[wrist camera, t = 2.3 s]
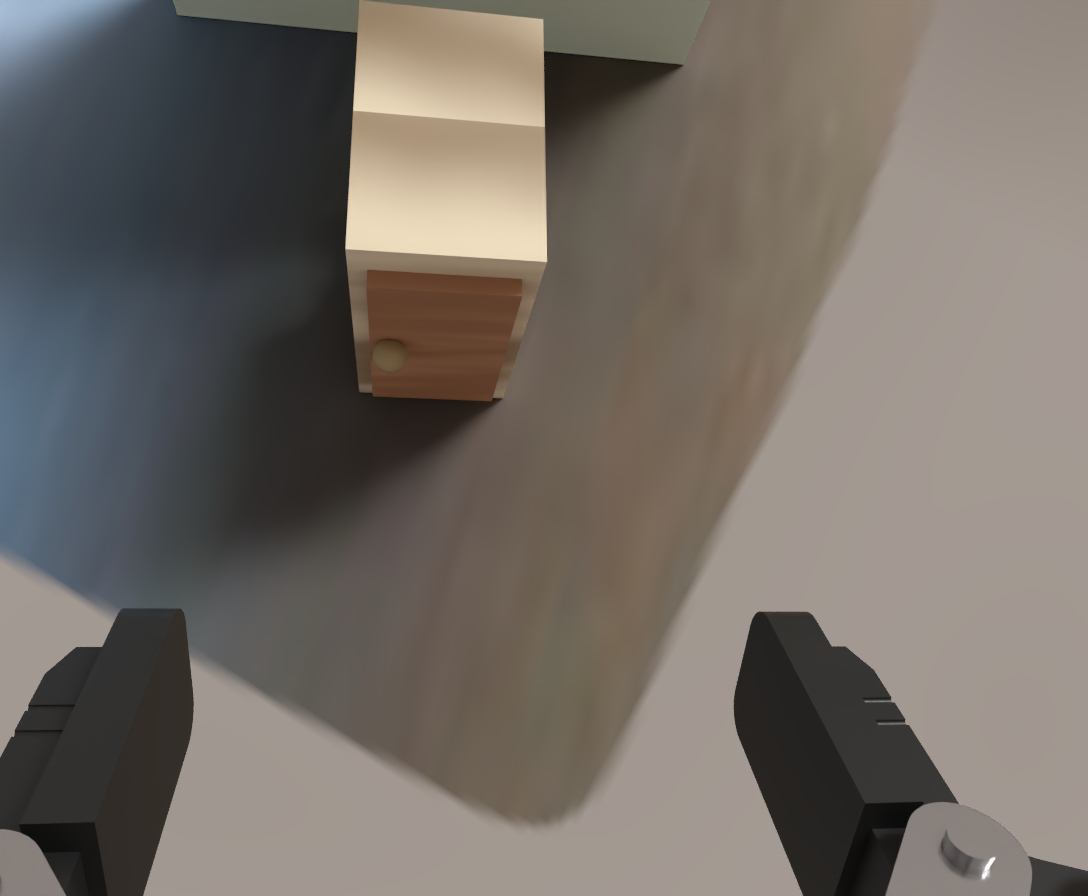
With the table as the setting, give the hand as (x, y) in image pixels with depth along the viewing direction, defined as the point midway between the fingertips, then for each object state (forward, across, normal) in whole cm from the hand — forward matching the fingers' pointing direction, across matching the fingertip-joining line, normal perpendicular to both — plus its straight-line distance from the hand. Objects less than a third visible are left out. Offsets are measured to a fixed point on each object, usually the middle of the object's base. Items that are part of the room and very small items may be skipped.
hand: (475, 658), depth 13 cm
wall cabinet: (+22, 0, +3) cm, 22 cm away
